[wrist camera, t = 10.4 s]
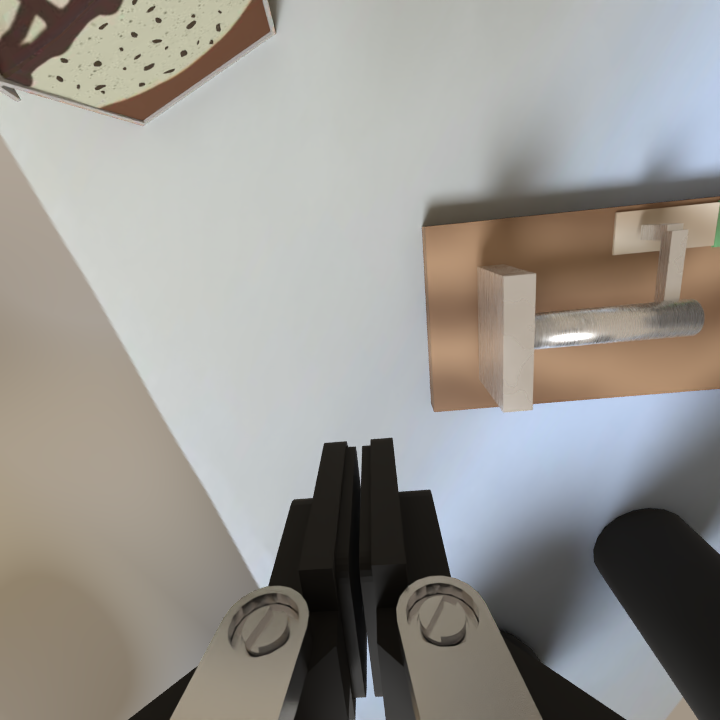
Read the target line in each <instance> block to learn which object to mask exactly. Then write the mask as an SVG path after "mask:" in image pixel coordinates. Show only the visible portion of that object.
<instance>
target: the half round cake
mask: <svg viewBox="0 0 720 720" xmlns="http://www.w3.org/2000/svg"><path fill="white" fill-rule="evenodd" d="M275 34H276V32H275V28H274V23H273V19H272V15H271V11H270V7H269V3H268V0H0V92H2V93H4V94H5V95H7V96H9V97H10V98H12V99H14V100H15V101H17V102H19V101H20V100H21V99H20V98H19V96H18V94H17V93H16V91H15V89H17V90H21V91H24V92H28V93H31V94H35V95H38V96H41V97H45V98H48V99H52V100H55V101H59V102H62V103H66V104H69V105H73V106H76V107H79V108H83V109H86V110H90V111H93V112H97V113H100V114H104V115H107V116H111V117H114V118H117V119H121V120H124V121H128V122H131V123H135V124H138V125H142V126H144V125H146V124H147V123H149V122H150V121H151V120H153V119H154V118H156V117H157V116H159V115H160V114H161V113H163V112H164V111H166V110H167V109H169V108H170V107H171V106H173V105H174V104H176V103H177V102H179V101H180V100H182V99H183V98H184V97H186V96H187V95H189V94H190V93H192V92H193V91H194V90H196V89H197V88H199V87H200V86H202V85H203V84H204V83H206V82H207V81H209V80H210V79H212V78H213V77H215V76H216V75H217V74H219V73H220V72H222V71H223V70H225V69H226V68H227V67H229V66H230V65H232V64H233V63H235V62H236V61H237V60H239V59H240V58H242V57H243V56H245V55H246V54H248V53H249V52H250V51H252V50H253V49H255V48H256V47H258V46H259V45H260V44H262V43H263V42H265V41H266V40H268V39H269V38H270V37H272V36H273V35H275Z"/></svg>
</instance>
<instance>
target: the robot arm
mask: <svg viewBox="0 0 720 720" xmlns="http://www.w3.org/2000/svg"><path fill="white" fill-rule="evenodd" d="M367 637H368V645H369V653H370V661H371V669H372V677H373V685H374V693H375V697H379V696H383V699H384V708H385V716H386V720H626V719H624V718H623V717H621V716H620V715H618V714H617V713H616V712H614V711H613V710H611V709H610V708H608V707H607V706H605V705H604V704H602V703H601V702H599V701H598V700H596V699H595V698H593V697H592V696H590V695H589V694H587V693H586V692H584V691H583V690H581V689H580V688H578V687H577V686H575V685H574V684H572V683H571V682H569V681H568V680H566V679H565V678H563V677H562V676H560V675H559V674H557V673H556V672H554V671H553V670H551V669H550V668H548V667H547V666H545V665H544V664H543V663H541V662H540V661H538V660H537V659H535V658H534V657H532V656H531V655H529V654H528V653H526V652H525V651H523V650H522V649H520V648H519V647H517V646H516V645H514V644H513V643H511V642H510V641H508V640H507V639H505V638H504V637H502V635H501V633H500V631H499V629H498V627H497V625H496V623H495V621H494V619H493V617H492V615H491V613H490V611H489V609H488V607H487V605H486V603H485V601H484V600H483V599H482V597H481V596H480V594H479V593H478V592H477V591H476V590H475V589H473V588H472V587H471V586H470V585H468V584H467V583H465V582H463V581H460V580H458V579H456V578H452V577H451V575H450V571H449V567H448V562H447V558H446V554H445V549H444V545H443V541H442V536H441V532H440V528H439V523H438V519H437V515H436V510H435V506H434V502H433V497H432V494H431V491H430V490H419V491H405V492H398V484H397V475H396V465H395V456H394V447H393V438H383V439H371V445H369V446H362V471H361V486H360V477H359V469H358V460H357V452H356V447H348V445H347V441H345V442H333V443H324V446H323V451H322V456H321V461H320V466H319V471H318V476H317V481H316V486H315V491H314V495H313V498H308V499H294V500H293V501H292V503H291V506H290V510H289V513H288V517H287V520H286V524H285V528H284V531H283V535H282V539H281V542H280V546H279V549H278V553H277V557H276V560H275V564H274V567H273V571H272V575H271V578H270V582H269V585H268V586H267V587H264V588H261V589H258V590H255V591H253V592H251V593H249V594H247V595H246V596H244V597H242V598H241V599H240V600H239V601H238V602H236V603H235V604H234V605H233V606H232V607H231V608H230V610H229V611H228V612H227V614H226V615H225V617H224V618H223V620H222V622H221V624H220V625H219V628H218V629H217V631H216V633H215V635H214V637H213V639H212V641H211V643H210V644H209V646H208V648H207V650H206V652H205V654H204V656H203V658H202V660H201V662H200V663H199V665H198V666H197V667H196V668H194V669H193V670H192V671H191V672H189V673H188V674H187V675H185V676H184V677H183V678H181V679H180V680H179V681H178V682H176V683H175V684H174V685H172V686H171V687H170V688H169V689H167V690H166V691H165V692H163V693H162V694H161V695H159V696H158V697H157V698H156V699H154V700H153V701H152V702H150V703H149V704H148V705H147V706H145V707H144V708H143V709H141V710H140V711H139V712H138V713H136V714H135V715H134V716H132V717H131V718H130V719H129V720H355V710H356V698H358V697H366V689H367Z"/></svg>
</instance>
